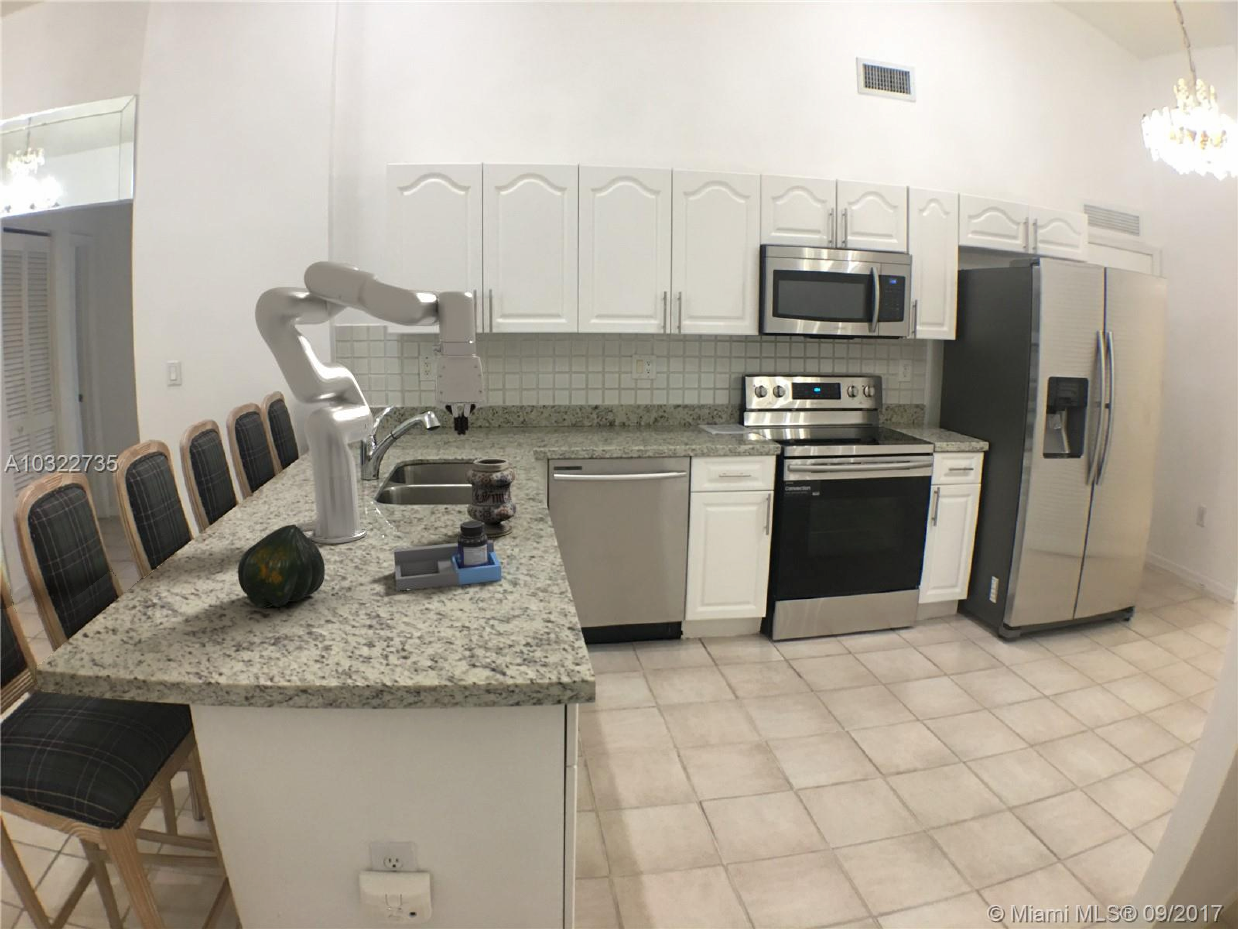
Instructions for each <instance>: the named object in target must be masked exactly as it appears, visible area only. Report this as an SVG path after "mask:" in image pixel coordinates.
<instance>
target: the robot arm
mask: <svg viewBox="0 0 1238 929" xmlns="http://www.w3.org/2000/svg"><path fill="white" fill-rule="evenodd" d="M303 283H304V285H305V287H293V286H278V287H273V288H270V289H267V290H265V291H264V292H263V293H261V294H260V296H259V298H258V299H257V301H256V304H255V311H254V319H255V324H256V327H257V330H258V332H259V335H260V336H261V337H262V340H264V342H265V344H266V345H267V347H268V349H269V350H270V352H271V353H272V355H273V357H274V358H275V361H276V363H277V365H278V367H279V369H280V371H281V373H282V375H283V378H284V380H285V381H286V383H287V385H288V388H289V389H290V392H291V393H292V395H293V396H294V398H295V399H296V401H297V402H299V404H301V405H305V406H314V405H321V404H329V406H323V407H320V408H317V409H314V410H313V411H312V412H311V413H309V414H308V416H307V417H306V419H305V421H304V427H303V428H304V436H305V439H306V442H307V446H308V449H309V452H310V453H309V454H310V459H311V467H312V476H313V479H312V480H313V487H314V488H313V490H314V501H315V513H316V518H315V519H314V520H311V521H308V522H306V521H304V522H303V521H302V522H297V524H296V526H297V527H298V528H299V529H301V531H302V532H303V533H307V532H311V534H310V536H311V537H310V538H311V539H310V540H311V541H312V542H315V543H320V544H325V545H327V544H328V545H329V544H343V543H349V542H354V541H357V540H360V539H362V538H364V537H365V536H366V535H367V534H368V530H367V529H368V528H366V527H365V526H364V525H360V510H359V497H358V496H359V495H358V485H357V483H358V481H357V470H356V462H355V458H354V456H353V453H352V452H351V450H350V447H349V445H348V444H352V443H356V442H359V441H362V440H365V439H366V438H368V437H369V436H370V435H371V434H372V433H373V429H374V416H373V413H372V411H371V409H370V406H369V405H368V402H367V400H366V398H365V396H364V394H363V392H362V390H361V388H360V386H359V384H358V382H357V380H356V378H355V376H354V375H353V373H352V372H351V371H350V369H348V368H347V367H345V366H344V365H342V364H341V363H338V362H321V361H320V359H319V357H318V356H317V354H316V352H315V350H314V347H313V345H312V344H311V343H310V342H309V340H308V339H307V338H306V337H305V336H304V335H303V333H301V332H300V331H299V330H298V329H297V328H296V325H297V326H298V325H299V326H301V325H306V326H307V325H320V324H324V323H326V322H328V321H330V320H332V319H333V318H334V317H336V316H337V315H339V314H340V313H341V312H343V311H344V310H346V309H347V308H352V309H354V310H358V311H361V312H364V313H365V314H367V315H369V316H371V317H374V318H376V319H379V320H382V321H385V322H388V323H391V324H396V325H399V326H405V327H434V326H435V327H436V326H437V327H438V331H439V333H438V334H439V335H438V336H439V342H438V343H437V344H433V345H432V350H433V352H438V353H439V356H437V357H436V364H435V376H434V377H435V382H434V383H435V384H434V385H435V387H434V388H435V397H436V398H435V401H434V402H435V404H434V406H435V408H436V409H439V410H445V411H447V412H448V413H449V414H450V415H452V418H453V430H454V432H456V434H457V436H466V435H467V432H468V431H469V416H470V415H471V414H472V412H474V411H475V410H476V409H480V408H483V407H485V406H486V403H485V402H486V401H485V385H484V375H483V374H484V373H483V372H484V371H483V368H482V361H481V357H480V356H477V351H476V350H477V349H476V322H475V299H474V296H473V294H471V293H470V292H468V291H454V290H453V291H452V290H451V291H442V292H440V291H432V290H424V289H423V290H422V289H421V290H419V289H407V288H403V287H402V288H401V287H398V286H396V285H395V286H394V285H390V284H388V283H387V284H386V283H384V282H382V280H381V279H380V277H379V276H377V275H376V274H374V273H373V272H369V271H366V270H365V271H364V270H360V269H359V268H358V267H357V266H356V265H353V264H352V263H351V264H350V263H343V262H336V261H328V260H326V261H325V260H321V261H315V262H313V263H311V264H310V265H308V267H307V268H306V270H305V271H304V274H303ZM458 404H463V406H462V412H461V415H460V412H459V410H458V406H457V405H458ZM466 431H467V432H466Z"/></svg>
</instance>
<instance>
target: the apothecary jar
mask: <svg viewBox="0 0 1238 929" xmlns="http://www.w3.org/2000/svg"><path fill="white" fill-rule="evenodd" d="M515 479H516V474H515V472H514V470H513V469H512V468H510V465H509V461H508V460H507V459H504V458H498V457H497V458H493V457H491V458H490V457H487V458H486V457H485V458H478V459H475V460H474V461H473V466H472V468H471V469H470V470H469V471H468V472H467V474H466V481H467V483H469V485H471V502H470V503H469V504H468V506H467V507H466V508H467V509H466V513H467V515H468V516H469V517H470V518H471V519H472V520H473V521H480V522H483V524H484V529H483V533H484V534H486V536H487V538H494V537H495V538H496V537H503V536H506V535H510V534H511V533H512V532H513V531H514V530H513V527H512V526H511V525H509V524H506V523H503V522H505V521H508V520H509V519H512V518H513V517H514V515H515V514H516V513H517V505H516V503H515V502H514V501H513V500H512V490H511V489H512V488H511V487H512V485H511V484H513V483H514V481H515Z"/></svg>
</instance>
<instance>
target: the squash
mask: <svg viewBox="0 0 1238 929" xmlns="http://www.w3.org/2000/svg"><path fill="white" fill-rule="evenodd" d="M237 566H238V568H237V579H238V582H239V585H240V586H239V587H240V588H241V590H242V591H243V593H244V594H245V595H246V596H247V598H248V601H249V602H250V603H251V604H252V605H254V606H255V607H258V608H264V609H265V607H266V608H269V607H271V606H273V607H277V608H281V607H283V606H285V605H286V604H287V603H289V601H290V602H297V601H301V600H302V599H304V598H306V597H308V596H311V595H312V594H314V593H316V592H317V591H318V590H319V589H320V588H321V586H322V585H323V583H324V580H325V574H326V569H325V566H326V565H325V561H324V558H323V556H322V553H321V552H320V550H319V548H318V546H317V545H316V544H315V543H314V541H313V540H312V539H310V538H309V537H308V536H307V535H306V534H305V532H302V530H301V529H299V528H298V527H297V524H294V523H293V524H287V525H284V526H282V527H279V528H277V529H275V530H274V531H271V533H269V534H267V535H266V536H264V537H263V538H261V539H260V540H259V541H257V542H256V543H254V544H253V545H252V546H250V547H249V548H248V549H247V550H246V551H245V552H244V553H243V554H242V556H241V558H240V560H239V564H238V565H237Z"/></svg>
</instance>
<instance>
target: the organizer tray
mask: <svg viewBox="0 0 1238 929" xmlns="http://www.w3.org/2000/svg"><path fill="white" fill-rule="evenodd" d="M393 557H394V559H393V561H394V571H395V573H394V574H395V588H396V592H397V591H398V592H401V591H400V590H407V589H416V590H423V588H425V589H431V587H434V588H439V587H438V586H443V587H448V586H447V585H452V586H460V585H469V584H477V583H486V582H487V583H489V582H495V581H502V579H503V578H502V565H501V562H500V561H499V558H498V556H497V554H496V552H495V543H494V541H493V539H488V565H489V566H480V567H471V568H461V569H459V563H458V542H454V543H453V542H452V543H444V544H435V545H434V544H433V545H423V546H422V545H421V546H412V547H401V548H400V547H399V548H393ZM432 572H435V573H432ZM422 573H425V574H422ZM401 575H406V576H401ZM407 591H408V590H407Z"/></svg>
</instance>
